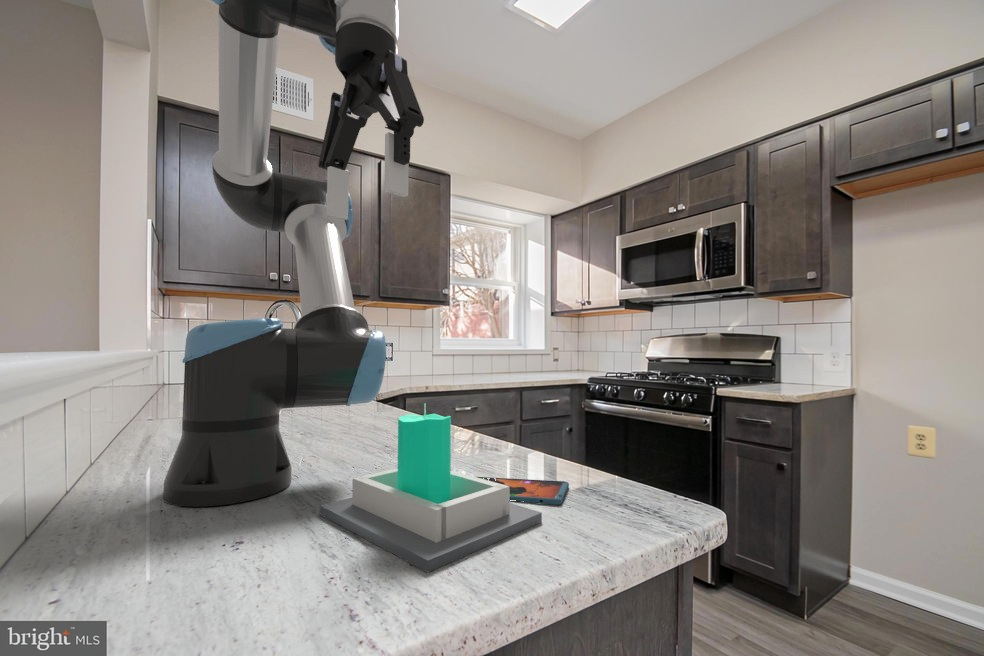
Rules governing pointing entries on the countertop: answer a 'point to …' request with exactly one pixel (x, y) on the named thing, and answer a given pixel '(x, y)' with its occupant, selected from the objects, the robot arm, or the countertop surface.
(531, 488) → the smartphone
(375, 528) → the dock
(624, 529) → the countertop surface
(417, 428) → the candle
